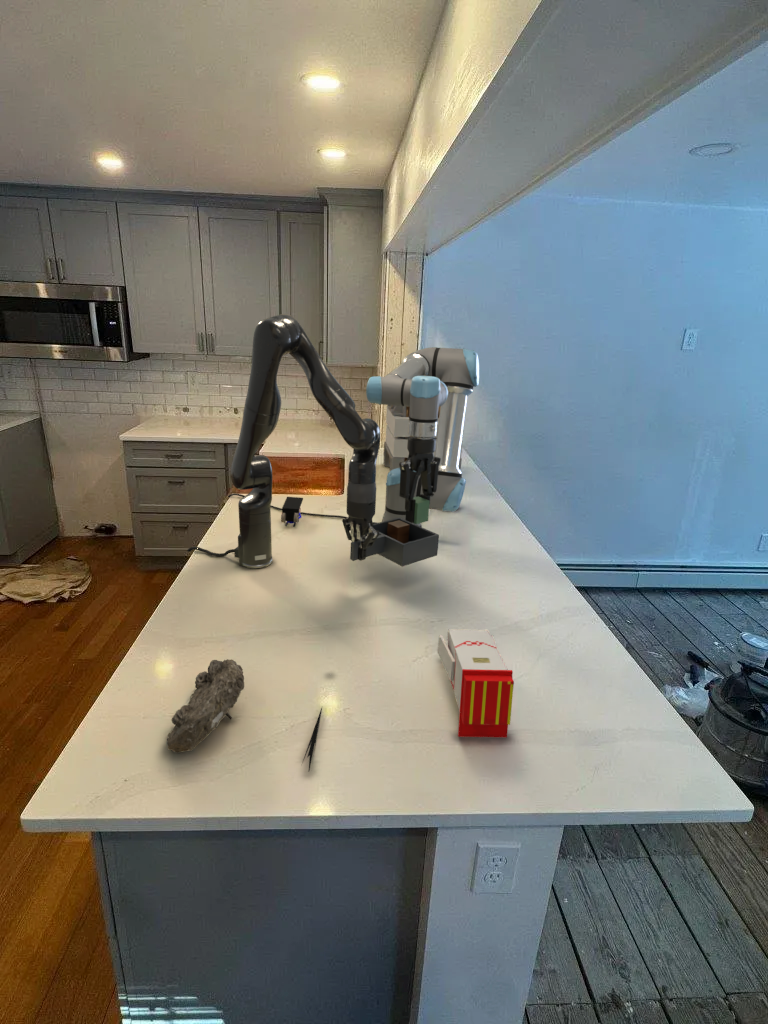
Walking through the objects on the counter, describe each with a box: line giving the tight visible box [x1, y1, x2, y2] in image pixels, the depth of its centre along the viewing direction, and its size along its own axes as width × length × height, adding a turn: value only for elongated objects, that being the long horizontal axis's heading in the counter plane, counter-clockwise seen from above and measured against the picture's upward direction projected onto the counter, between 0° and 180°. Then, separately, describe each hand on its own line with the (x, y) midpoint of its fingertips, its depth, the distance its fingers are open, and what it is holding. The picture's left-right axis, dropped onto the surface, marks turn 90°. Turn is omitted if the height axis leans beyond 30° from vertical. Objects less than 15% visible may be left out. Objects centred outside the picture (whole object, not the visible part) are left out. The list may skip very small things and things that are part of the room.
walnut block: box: [387, 520, 410, 544], centre depth 165 cm, size 4×4×6 cm
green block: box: [405, 497, 430, 524], centre depth 156 cm, size 4×4×6 cm
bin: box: [349, 518, 440, 567], centre depth 158 cm, size 17×24×6 cm
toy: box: [437, 628, 515, 738], centre depth 117 cm, size 12×13×30 cm
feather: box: [301, 673, 332, 771], centre depth 108 cm, size 2×28×2 cm
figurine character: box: [280, 496, 304, 528], centre depth 205 cm, size 7×8×15 cm
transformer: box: [383, 405, 465, 472], centre depth 268 cm, size 34×33×41 cm
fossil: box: [166, 658, 245, 754], centre depth 106 cm, size 22×10×15 cm
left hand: (359, 558), depth 152 cm, fingers closed on bin, 1 cm apart
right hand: (416, 519), depth 157 cm, fingers closed on green block, 4 cm apart
